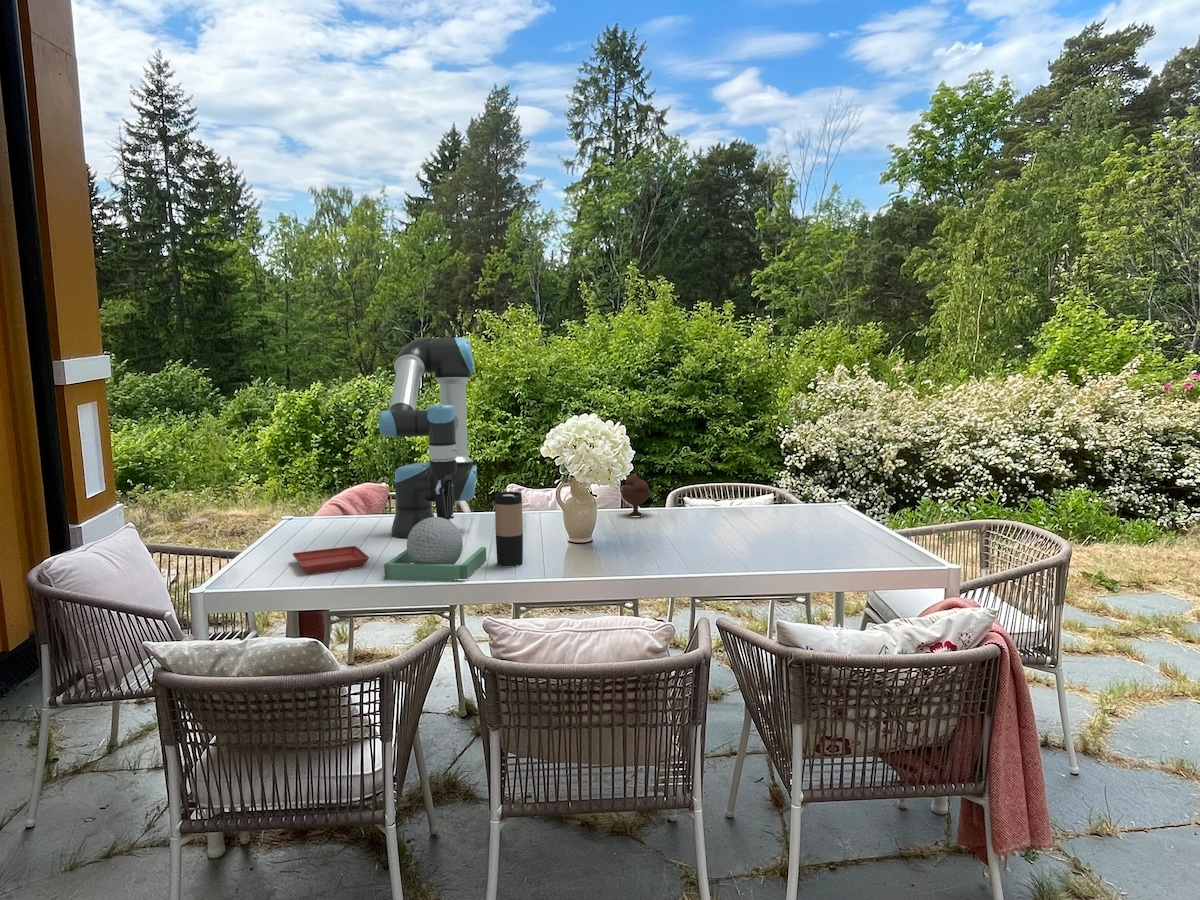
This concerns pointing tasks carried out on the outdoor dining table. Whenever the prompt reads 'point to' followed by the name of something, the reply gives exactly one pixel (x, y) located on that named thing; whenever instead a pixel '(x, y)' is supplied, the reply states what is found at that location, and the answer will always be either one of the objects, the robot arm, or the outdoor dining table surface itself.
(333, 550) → the plant saucer
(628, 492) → the ice cream bowl
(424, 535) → the decorative ball
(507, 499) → the travel mug
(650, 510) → the outdoor dining table surface
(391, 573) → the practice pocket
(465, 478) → the robot arm
